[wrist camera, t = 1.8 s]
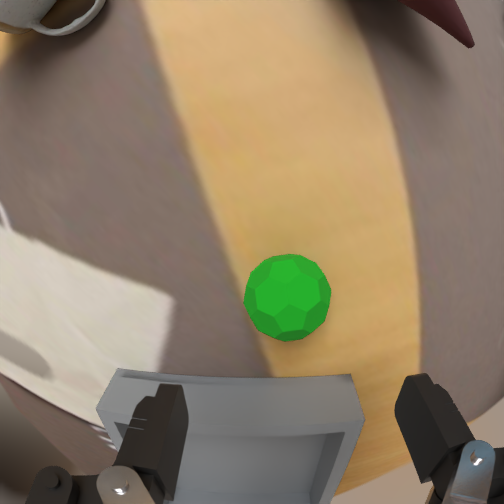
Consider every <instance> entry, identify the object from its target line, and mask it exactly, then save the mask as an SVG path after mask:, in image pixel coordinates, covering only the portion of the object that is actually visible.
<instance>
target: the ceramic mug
mask: <svg viewBox="0 0 504 504" xmlns="http://www.w3.org/2000/svg"><path fill="white" fill-rule="evenodd" d="M56 1H57V0H0V31H3V32H6V33H11V34H23V33H26V32H28V31H30V30H31V29H34V30H36V31H37V32H40V33H43V34H46V35H53V36H61V35H67V34H70V33H73V32H75V31H77V30H79V29H81V28H83V27H84V26H86V25H87V24H88V23H89V22H90V21H91V20H92V19H93V18H94V17H95V16H96V15H97V14H98V13H99V11H100V10H101V9H102V7H103V5H104V3H105V1H106V0H96V1H95V4H94V5H93V7H92V8H91V9H90V10H89V11H88V12H87V13H86V14H85V15H83V16H82V17H80V18H77V19H75V20H74V21H73V22H72V23H71V24H70V25H67V26H65V27H63V28H62V29H50V28H48V27H45V26H43V25H42V24H41V23H40V20H41V19H42V18H43V17H44V16H45V15H46V14H47V12H48V11H49V10H50V9H51V7H52V6H53V5H54V4H55V3H56Z"/></svg>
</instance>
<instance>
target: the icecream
mask: <svg viewBox="0 0 504 504" xmlns="http://www.w3.org/2000/svg"><path fill="white" fill-rule="evenodd" d="M397 1H399V2H401V3H403V4H404V5H406V6H408V7H410V8H411V9H413V10H415V11H416V12H418V13H419V14H421V15H423V16H424V17H426V18H427V19H429V20H430V21H432V22H433V23H435V24H436V25H438V26H439V27H441V28H442V29H443V30H445V31H446V32H447V33H449V34H450V35H451V36H453V37H454V38H455V39H457V40H458V41H459V42H461V43H462V44H463V45H465V46H466V47H467V48H472V47H473V46H474V45H475V44H474V41H473V38H472V35H471V33H470V31H469V28H468V26H467V24H466V22H465V20H464V17H463V15H462V13H461V11H460V9H459V7H458V5H457V3H456V1H455V0H397Z"/></svg>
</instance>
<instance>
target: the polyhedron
mask: <svg viewBox="0 0 504 504" xmlns="http://www.w3.org/2000/svg"><path fill="white" fill-rule="evenodd" d="M330 297H331V288H330V286H329V284H328V281H327V279H326V277H325V275H324V273H323V272H322V271H321V269H320V268H319V266H318V265H317V264H316V263H315V262H313V261H311V260H309V259H307V258H305V257H303V256H301V255H294V254H287V255H280V256H273V257H271V258H269V259H266V260H264V261H263V262H262V263H261V264H260V265H259V266H258V267H256V268H255V269H254V270H253V271H252V272H251V274H250V277H249V280H248V283H247V285H246V290H245V296H244V302H243V303H244V305H245V307H246V309H247V312H248V314H249V316H250V318H251V319H252V321H253V323H254V324H255V326H256V328H257V329H258V331H260V332H262V333H265V334H267V335H269V336H271V337H273V338H275V339H278V340H281V341H292V340H299V339H303V338H304V337H306V336H307V335H309V334H310V333H312V332H313V331H314V330H315V329H316V328H317V327H319V326H320V325H321V324H322V323H323V322H324V321H325V318H326V315H327V312H328V308H329V304H330Z"/></svg>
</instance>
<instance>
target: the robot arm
mask: <svg viewBox="0 0 504 504" xmlns="http://www.w3.org/2000/svg"><path fill="white" fill-rule="evenodd" d="M395 417H396V420H397V423H398V425H399V427H400V430H401V432H402V435H403V437H404V440H405V442H406V445H407V447H408V450H409V453H410V455H411V458H412V460H413V463H414V466H415V468H416V471H417V474H418V476H419V479H420V482H421V484H422V483H425V482H428V481H432V482H433V487H432V488H431V490H430V493H429V495H428V497H427V500H426V502H425V504H504V447H503V448H492V446H491V445H490V444H488V443H487V442H485V441H482V440H476V439H475V438H474V437H473V434H472V433H471V431H470V429H469V427H468V426H467V424H466V422H465V420H464V419H463V417H462V415H461V413H460V412H459V411H458V408H457V407H456V405H455V403H453V400H452V398H451V397H450V395H449V394H448V392H447V391H446V390H445V389H443V388H442V387H441V386H440V385H439V384H433V382H432V380H431V379H430V377H429V376H428V374H426V373H422V374H416V375H411V376H407V377H406V378H405V380H404V383H403V385H402V388H401V391H400V393H399V396H398V398H397V401H396V404H395ZM188 424H189V414H188V409H187V404H186V400H185V395H184V390H183V387H182V385H178V384H166V383H160V384H159V386H158V389H157V392H156V395H155V397H153V396H145V397H144V398H143V399H142V400H141V401H140V402H139V403H138V404H137V405H136V407H135V410H134V412H133V415H132V419H131V420H130V423H129V425H128V428H127V431H126V433H125V436H124V439H123V441H122V444H121V447H120V449H119V452H118V455H117V458H116V460H115V462H114V464H113V465H112V467H109V468H107V469H105V470H104V471H102V472H101V474H98V475H88V476H71V475H70V474H69V473H68V472H67V471H66V470H65V469H63V468H61V467H58V466H48V467H45V468H43V469H42V470H40V471H39V472H38V474H37V475H36V477H35V480H34V482H33V485H32V487H31V490H30V492H29V495H28V497H27V500H26V503H25V504H163V502H164V500H168V501H174V495H175V490H176V485H177V480H178V475H179V470H180V465H181V460H182V455H183V450H184V445H185V440H186V435H187V431H188Z"/></svg>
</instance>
